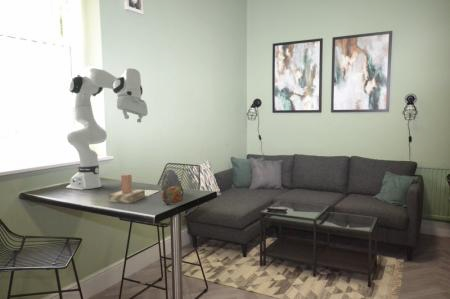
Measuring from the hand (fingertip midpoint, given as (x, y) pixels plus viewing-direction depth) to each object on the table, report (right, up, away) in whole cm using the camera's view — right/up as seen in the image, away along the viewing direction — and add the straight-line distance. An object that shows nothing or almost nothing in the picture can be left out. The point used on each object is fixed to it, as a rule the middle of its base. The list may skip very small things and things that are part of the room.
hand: (133, 120), depth 203 cm
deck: (-4, -44, +4) cm, 44 cm away
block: (-4, -40, +4) cm, 40 cm away
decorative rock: (+20, -43, +14) cm, 49 cm away
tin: (+23, -45, -4) cm, 50 cm away
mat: (+1, -42, +19) cm, 46 cm away
